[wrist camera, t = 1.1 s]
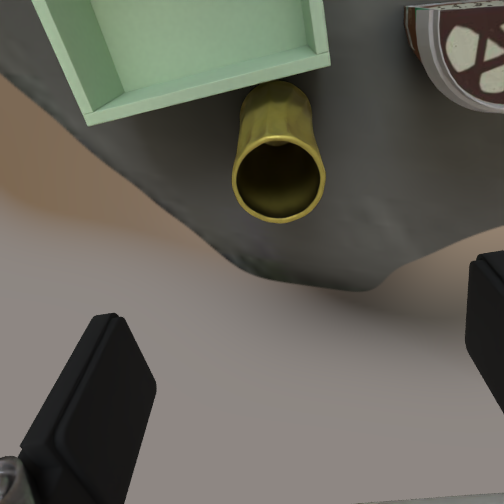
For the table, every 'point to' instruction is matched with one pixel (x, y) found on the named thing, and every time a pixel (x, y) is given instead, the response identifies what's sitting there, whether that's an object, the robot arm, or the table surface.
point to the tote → (178, 48)
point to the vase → (277, 155)
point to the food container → (461, 50)
